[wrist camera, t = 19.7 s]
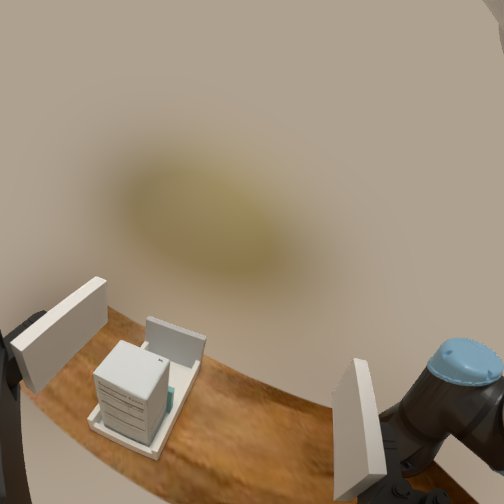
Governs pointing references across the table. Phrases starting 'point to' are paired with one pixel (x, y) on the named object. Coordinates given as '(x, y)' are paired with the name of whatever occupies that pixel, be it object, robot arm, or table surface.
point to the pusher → (170, 399)
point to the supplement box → (133, 392)
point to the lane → (180, 377)
